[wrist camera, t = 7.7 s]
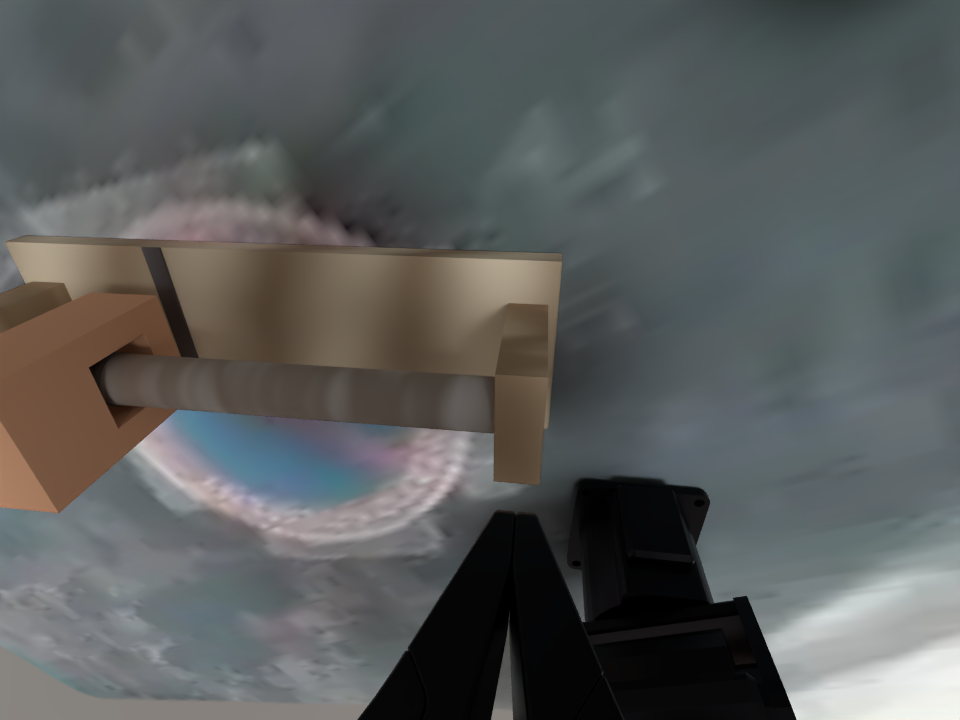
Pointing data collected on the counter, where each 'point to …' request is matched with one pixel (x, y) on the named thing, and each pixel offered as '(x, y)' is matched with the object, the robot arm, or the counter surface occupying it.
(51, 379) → the brown block with hole
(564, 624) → the robot arm
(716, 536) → the counter surface
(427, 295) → the pipe stand
